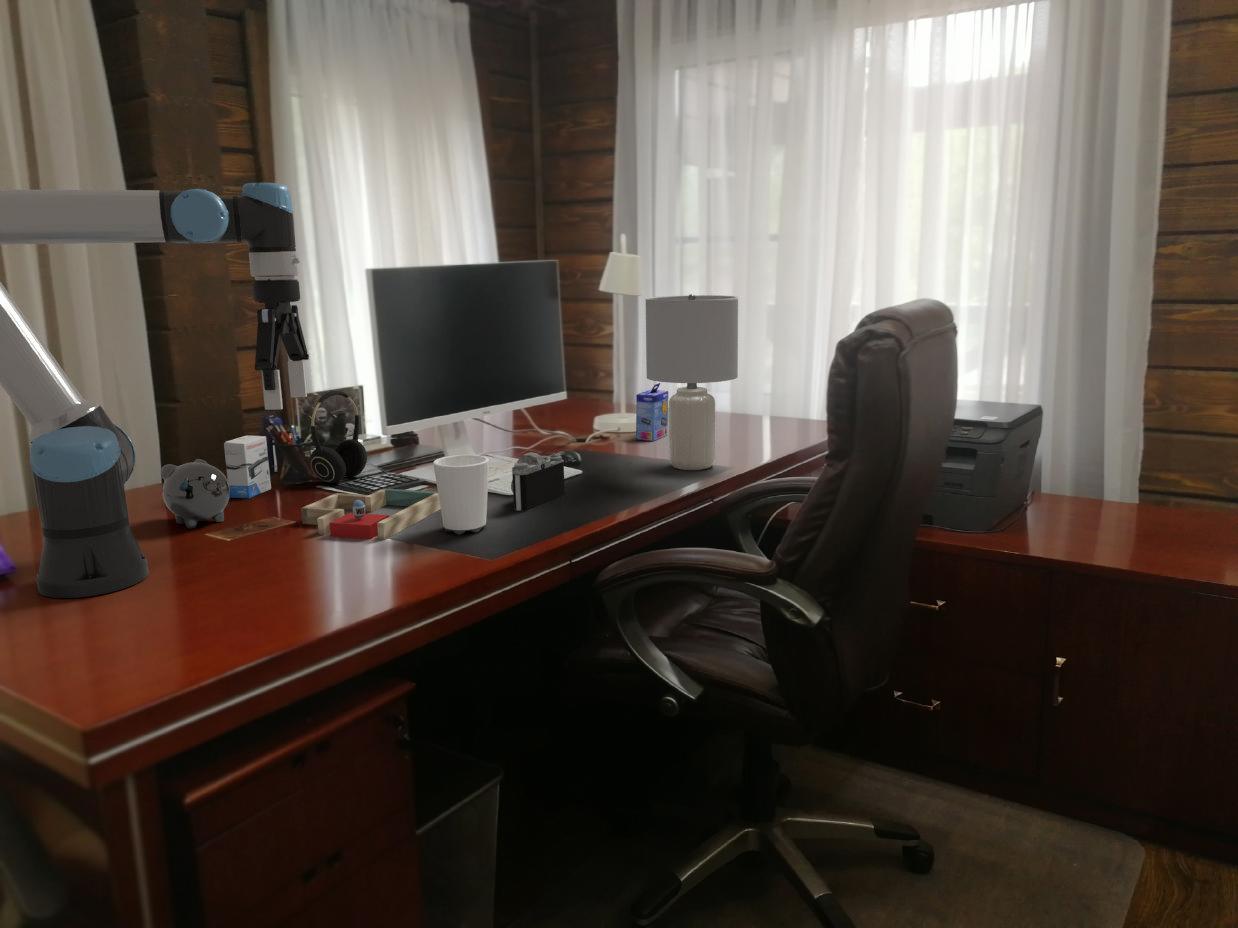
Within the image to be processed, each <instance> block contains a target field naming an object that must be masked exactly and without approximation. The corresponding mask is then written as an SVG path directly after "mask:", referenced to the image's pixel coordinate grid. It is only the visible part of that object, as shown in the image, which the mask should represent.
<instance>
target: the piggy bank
mask: <svg viewBox="0 0 1238 928" xmlns="http://www.w3.org/2000/svg"><path fill="white" fill-rule="evenodd" d="M160 476H161V478H162V479H163V481H164V482H163V486H162V499H163V502H164V505H166V507H167V509H168V510H169V511H170V512H171V513H173V514H174V515H175V521H176V523H177V524H179V525H183V524H185V525H184V526H185V527H186V528H187V529H189V530H190V529H195V528H196V527H197V526H198V523H199V521H206V520H210V519H212V521H214V523H221V522H224V520H225V516H224V515H225V514H224V510H225V508H226V507H227V505H228V503H229V501H230V486H229V482H228V478H227V475H225V473H223V472H222V470H220V469H219V468H218V467H216V466H213V465H211V464H209V463H208V462H207V461H206V460H203V459H202V458H201V459H200V458H197V459H195V460H194V461H193V462H186V463H184V464H180V465H174V464H171V463H169V464H165V465H163V466H162V467H161V469H160Z"/></svg>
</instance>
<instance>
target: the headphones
mask: <svg viewBox="0 0 1238 928" xmlns="http://www.w3.org/2000/svg"><path fill="white" fill-rule="evenodd" d="M334 396H341V397H344V398H345V399H348V401H349V402H350V403H351V405H352V408H353V410H354V413H355V414H354V425H353V426H354V429H353V432H352V433H353V434H352V438H350V439H345V440H343V441H341V442H340V443H339V444H337V446H336V447H335V449H333V448H330V447H328V446H321V443H320V441H319V438H318V434H317V430H316V425H315V418H316V414H317V411H318V410H319V409H318V408H319V407H320V405H321V404H323V402H324V401H326V400H327V399H329V398H330V397H334ZM310 430H311V436H312V437H311V438H312V441H313V444H314V447H315V449H314V450H312V452H311V454H310V456H309V462H310V467H311V468H310V469H311V470H312V472H313V474H314V475H315V476H316V477H317V478H319V480H321V481H323V482H326V483H329V484H336V483H339V482H341V481H342V480H343V479H344V478H354V477H357V476H358V475H360V474H361V473H362V472H363V471H364V469H365V467H366V465H367V460H368V455H367V450H366V447H365V446H364V445H363V443H362V442H360V441H359V434H360V415H359V411H358V407H357V405H356V404H355V402H354V401H353V400H352V398H351V397H350V395H348V393H346V392H344V391H341V390H330V391H328V392H325V393H324V394H323V395H322V396H321V397H319V399H318V400H317V404H316V405H315V407H314V409H313V411H312V415H311V422H310Z"/></svg>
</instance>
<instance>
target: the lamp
mask: <svg viewBox="0 0 1238 928" xmlns="http://www.w3.org/2000/svg"><path fill="white" fill-rule="evenodd" d="M645 346H646V347H645V351H646V352H645V359H646V360H645V361H646V362H645V364H646V365H645V367H646V369H645V370H646V379H647V380H649V381H653V382H659V383H671V384H672V383H673V384H686V386H685V387H683V386H682V387H678V388H677V389H676V393H675V394H673V395H672V396H671V397H670V398H669V399H668V433H669V434H668V436H669V437H668V438H669V439H668V443H669V445H668V447H669V450H668V452H669V455H668V458H669V462H670V464H671V466H672V467H673V468H674V469H678V470H681V471H701V470H706V469H710V468H711V467H712V466H713V464H714V462H715V460H716V459H715V458H716V400H715V397H714V396H713V395H712V394H710V393H708V390H707V388H706V387H702V386H698V384H707V383H722V382H727V381H733V380H736V379H737V378H738V374H739V373H738V368H739V367H738V366H739V364H738V363H739V362H738V361H739V360H738V359H739V355H738V354H739V349H738V348H739V296H735V295H719V294H718V295H713V294H711V295H709V294H708V295H707V294H706V295H704V294H703V295H702V294H701V295H699V294H697V295H695V294H693V293H690V294H688V295H665V296H664V295H663V296H652V297H651V296H650V297H646V298H645Z"/></svg>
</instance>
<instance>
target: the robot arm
mask: <svg viewBox="0 0 1238 928" xmlns="http://www.w3.org/2000/svg"><path fill="white" fill-rule="evenodd" d="M294 221H295V220H294V210H293V204H292V198H291V192H290V189H289V187H288V186H287V185H286V184H283V183H278V182H249V183H245V184H243V186H242V192H241V194H238V195H231V196H230V195H229V196H228V195H217V194H215V193H214V192H212V191H208V190H207V189H203V188H189V189H187V190H177V189H176V190H174V189H173V190H160V189H159V190H158V189H157V190H153V189H151V190H150V189H148V190H147V189H145V190H144V189H137V190H136V189H134V190H133V189H4V188H3V189H0V246H1V245H3V246H5V245H10V246H11V245H56V244H58V245H61V244H63V245H64V244H65V245H66V244H69V245H70V244H123V243H124V244H126V243H127V244H129V243H131V244H132V243H134V244H137V243H175V244H187V245H196V244H227V243H237V244H241V243H247V246H248V257H249V259H248V260H249V270H250V271H249V272H250V276H251V277H254V279H255V280H252V282H251V286H252V287H251V288H252V298H253V301H254V302H255V303H257V304H264V309H263V308H262V309H257V310H256V315H257V329H256V330H257V331H256V345H255V357H254V358H255V360H254V371H257V372H259V371H260V374H261V383H262V393H263V402H264V410H271V411H272V410H283V409H284V408H283V407H284V406H283V397H282V395H283V394H282V386H281V377H280V376H281V375H280V369H277V367H278V362H279V361H278V360H279V356H280V355H279V354H280V349H281V342H282V344H283V346H284V349H285V351H286V353H287V356H288V361H287V371H288V381H289V391H290V398H307V397H308V391H307V380H306V368H305V367H306V366H305V361H308V360H310V355H309V354H308V349H307V345H306V340H305V336H304V333H303V329H302V324H301V322H300V321H301V320H300V317H299V307H298V305H297V304H291V303H294V302H295V303H296V302H299V301H300V300H301V291H300V282H299V281H298V279H295V277H297V276H298V275H299V272H298V271H299V269H298V264H300V262H301V260H300V258H299V257H297V252H296V250H297V248H296V235H295V222H294ZM0 386H1V387H2V388H3V390H4V391H5V393H6V394H7V395H8V396H9V398H10V399H11V400H12V403H14V405H15V406H16V407H17V408H18V410H19V412H20V413H21V414H22V415H23V416H24V418H25V420H26V421H27V423H28V424H29V425H30V427H31V428H30V429H31V431H30V433H29V434H30V435H29V438H28V441H29V443H30V447H29V448H30V449H29V454H30V457H29V465H30V469H31V471H32V476H33V483H34V487H35V488H34V489H35V494H36V500H37V505H38V507H37V508H38V513H39V519H40V525H41V531H42V537H43V544H42V549H41V555H40V559H39V560H40V561H39V569H38V571H37V572H36V576H35V577H36V578H35V579H36V584H37V585H36V586H37V591H38V593H39V594H40V595H41V596H43V597H48V598H53V599H54V598H55V599H76V598H86V597H95V596H98V595H105V594H109V593H113V592H116V591H120V590H123V589H126V588H129V587H131V586H134V585H137V584H139V583H140V582H142V581H143V580H145V579H146V578H147V577H148V576H149V573H150V572H149V565H148V560H147V557H146V556H145V554H143V552H142V550H141V547H140V544H139V543H138V541H137V538H136V537H135V535H134V533H133V531H132V529H131V525H130V519H129V511H128V504H127V498H126V497H127V496H126V492H125V490H126V489H125V484H126V482H128V481H129V479H130V478H131V476H132V474H133V471H134V468H135V466H136V465H135V464H136V451H135V446H134V444H133V442H132V440H131V438H130V436H129V435H128V433H126V432H125V430H123V428H121V427H119V426H118V425H117V424H115V423H113V421H112V420H111V418H110V417H109V416H108V414H107V413H106V412H105V410H104V409H103V407H102V406H101V404H100V403H98V402H95V401H92V400H87V399H85V398H84V397H83V396H82V394H81V393H80V392H79V391H78V389H77V388H76V386H75V385H74V383H73V382H72V380H71V379H70V378H69V377H68V375H67V374H66V372H65V371H64V369H63V368H62V366H61V365H60V364H59V363H58V360H56V358H55V356H54V355H53V354H52V353H51V351H50V350H49V348H48V347H47V345H46V344H45V343H44V341H43V340H42V338H41V337H40V335H39V334H38V333H37V331H36V330H35V328H34V326H33V325H32V324H31V322H29V320H28V318H27V317H26V315H25V314H24V313H23V311H22V310H21V309H20V308H19V306H18V305H17V303H16V302H15V300H14V299H13V297H12V296H11V295H10V293H9V292H8V291H7V289H6V287H5V286H4V285H3V283H2V282H1V281H0Z"/></svg>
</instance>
